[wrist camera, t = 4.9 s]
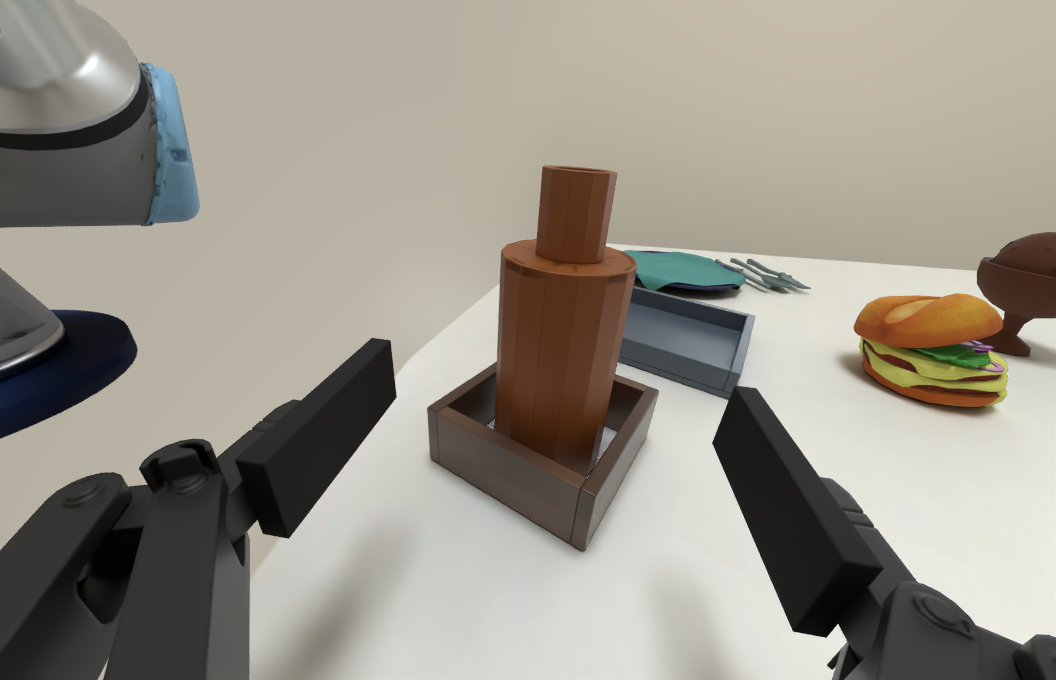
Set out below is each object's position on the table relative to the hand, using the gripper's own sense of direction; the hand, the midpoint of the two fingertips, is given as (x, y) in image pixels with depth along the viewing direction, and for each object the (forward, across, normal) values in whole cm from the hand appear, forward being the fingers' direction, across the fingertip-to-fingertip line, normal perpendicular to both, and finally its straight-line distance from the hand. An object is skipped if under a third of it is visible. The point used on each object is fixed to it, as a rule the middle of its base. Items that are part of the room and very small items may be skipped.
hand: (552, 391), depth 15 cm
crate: (+7, 0, -9) cm, 12 cm away
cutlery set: (+52, +22, -10) cm, 57 cm away
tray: (+27, +9, -9) cm, 30 cm away
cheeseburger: (+23, +34, -10) cm, 42 cm away
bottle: (+7, 0, -9) cm, 12 cm away
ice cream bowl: (+36, +53, -10) cm, 65 cm away
